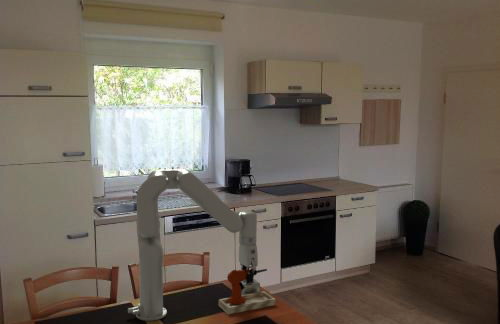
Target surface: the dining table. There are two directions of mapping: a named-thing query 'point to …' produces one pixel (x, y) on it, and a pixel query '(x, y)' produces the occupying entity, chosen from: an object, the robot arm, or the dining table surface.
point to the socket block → (250, 287)
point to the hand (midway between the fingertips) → (247, 280)
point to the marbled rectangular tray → (248, 302)
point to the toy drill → (238, 285)
